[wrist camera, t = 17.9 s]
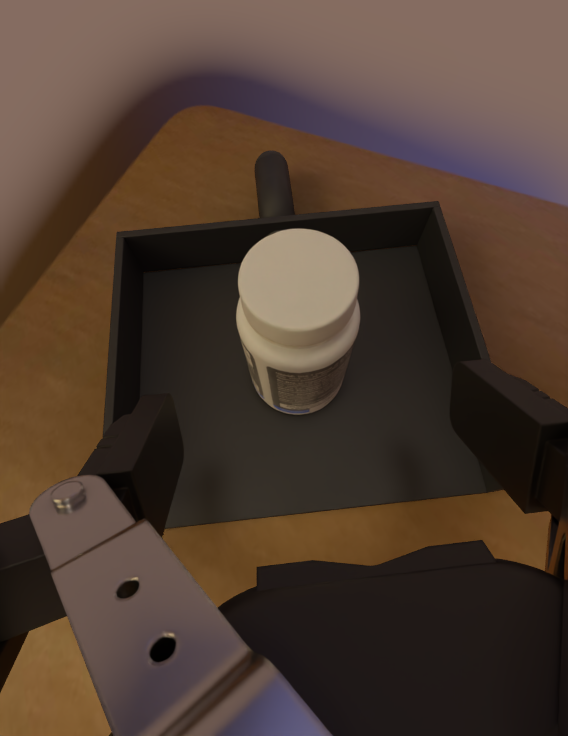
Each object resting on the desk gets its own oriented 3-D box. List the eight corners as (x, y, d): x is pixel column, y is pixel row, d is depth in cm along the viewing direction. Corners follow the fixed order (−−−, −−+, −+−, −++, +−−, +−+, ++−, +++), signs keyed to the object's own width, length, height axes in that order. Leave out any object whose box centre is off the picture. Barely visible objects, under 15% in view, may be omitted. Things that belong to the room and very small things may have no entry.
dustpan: (492, 491, 19) (531, 483, 16) (128, 532, 18) (95, 532, 15) (398, 169, 26) (412, 121, 23) (141, 193, 26) (121, 148, 23)
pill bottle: (359, 359, 21) (399, 257, 13) (312, 434, 19) (324, 369, 12) (283, 316, 22) (278, 198, 14) (232, 384, 21) (196, 294, 13)
